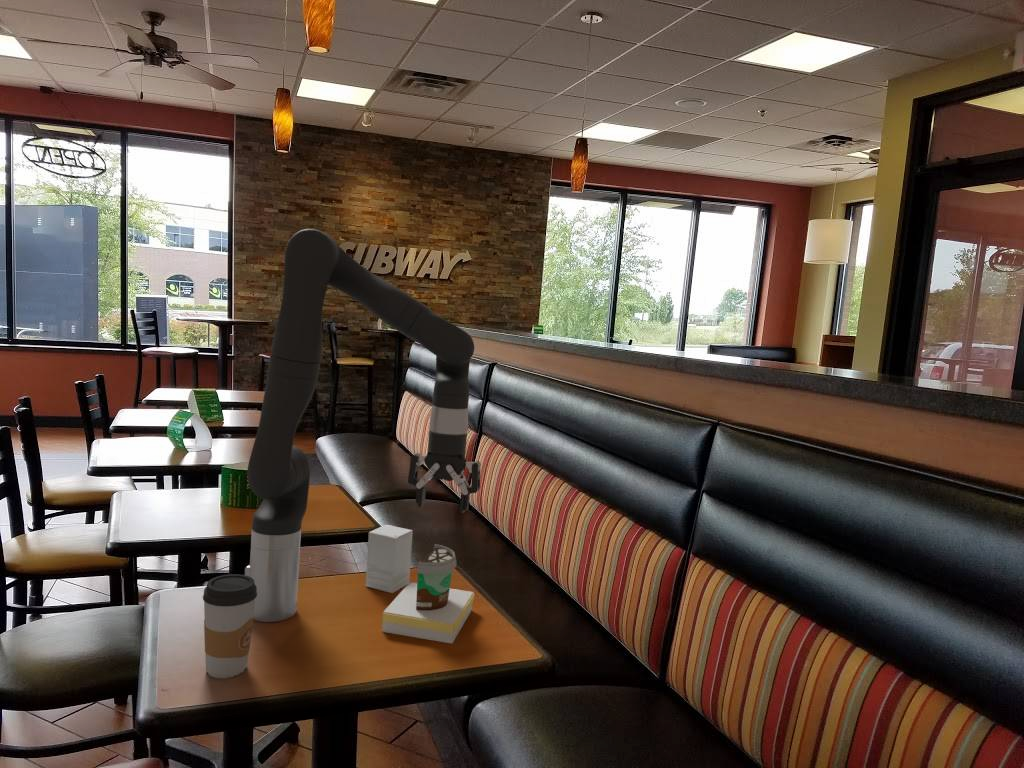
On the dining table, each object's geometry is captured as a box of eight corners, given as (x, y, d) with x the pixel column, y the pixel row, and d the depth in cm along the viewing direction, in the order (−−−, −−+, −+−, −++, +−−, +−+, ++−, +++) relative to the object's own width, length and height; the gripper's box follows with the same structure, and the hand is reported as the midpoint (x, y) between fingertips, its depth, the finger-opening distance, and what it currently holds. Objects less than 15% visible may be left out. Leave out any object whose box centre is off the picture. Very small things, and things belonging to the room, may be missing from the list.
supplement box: (410, 583, 160) (414, 529, 159) (391, 594, 153) (396, 538, 152) (383, 576, 163) (387, 523, 161) (363, 586, 156) (367, 531, 155)
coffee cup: (235, 686, 112) (240, 596, 110) (188, 677, 113) (192, 588, 112) (262, 661, 120) (267, 577, 119) (218, 653, 121) (222, 570, 120)
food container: (444, 617, 134) (448, 567, 133) (413, 612, 135) (417, 562, 134) (459, 593, 147) (463, 547, 146) (431, 589, 147) (435, 543, 147)
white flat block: (381, 632, 135) (382, 612, 134) (408, 599, 151) (409, 581, 150) (453, 644, 132) (455, 624, 132) (473, 610, 148) (474, 592, 148)
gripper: (407, 427, 136) (401, 509, 138) (479, 436, 134) (471, 519, 135) (419, 422, 143) (413, 499, 145) (487, 430, 141) (480, 509, 143)
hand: (441, 509), depth 140 cm, fingers open, 8 cm apart
